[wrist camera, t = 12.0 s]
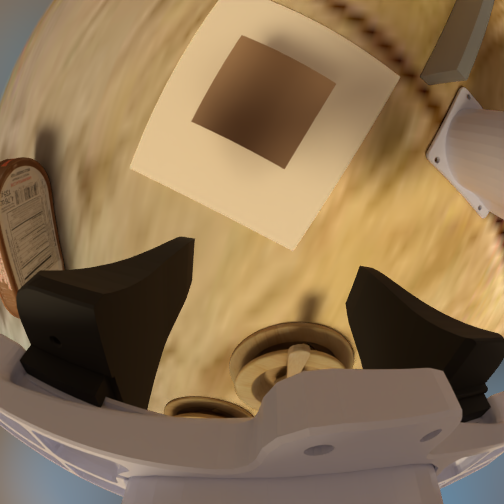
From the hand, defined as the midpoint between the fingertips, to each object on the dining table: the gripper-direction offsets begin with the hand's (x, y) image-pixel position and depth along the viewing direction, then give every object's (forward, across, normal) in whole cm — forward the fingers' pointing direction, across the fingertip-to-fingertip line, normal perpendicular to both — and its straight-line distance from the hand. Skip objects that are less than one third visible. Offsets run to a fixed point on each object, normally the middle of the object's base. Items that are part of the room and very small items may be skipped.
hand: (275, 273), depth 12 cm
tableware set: (+10, -2, +24) cm, 26 cm away
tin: (+10, +21, +4) cm, 23 cm away
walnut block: (+9, +2, -7) cm, 12 cm away
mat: (+9, +2, -7) cm, 12 cm away
